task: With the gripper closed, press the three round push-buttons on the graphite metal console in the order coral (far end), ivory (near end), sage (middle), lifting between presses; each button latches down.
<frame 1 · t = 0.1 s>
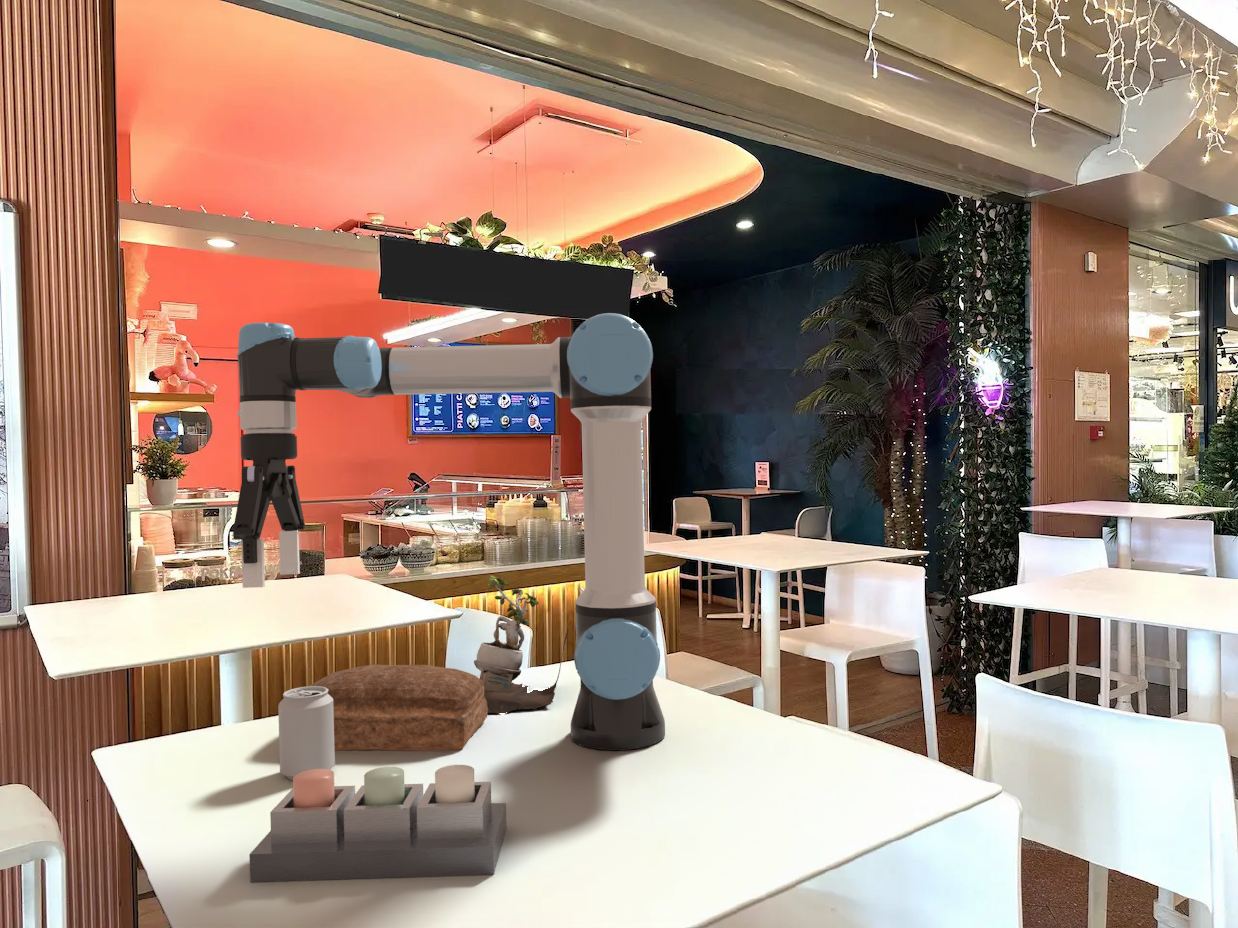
hand: (272, 580, 126), 28 cm above the table, fingers open, 13 cm apart
potted plant: (509, 700, 164), on the table
button sage: (384, 793, 100), point 7 cm above the table, slide at 0.0 cm
console: (386, 852, 100), on the table
button ivory: (455, 790, 100), point 7 cm above the table, slide at 0.0 cm
bread: (392, 737, 144), on the table
can: (308, 774, 127), on the table
button coral: (314, 795, 100), point 7 cm above the table, slide at 0.0 cm
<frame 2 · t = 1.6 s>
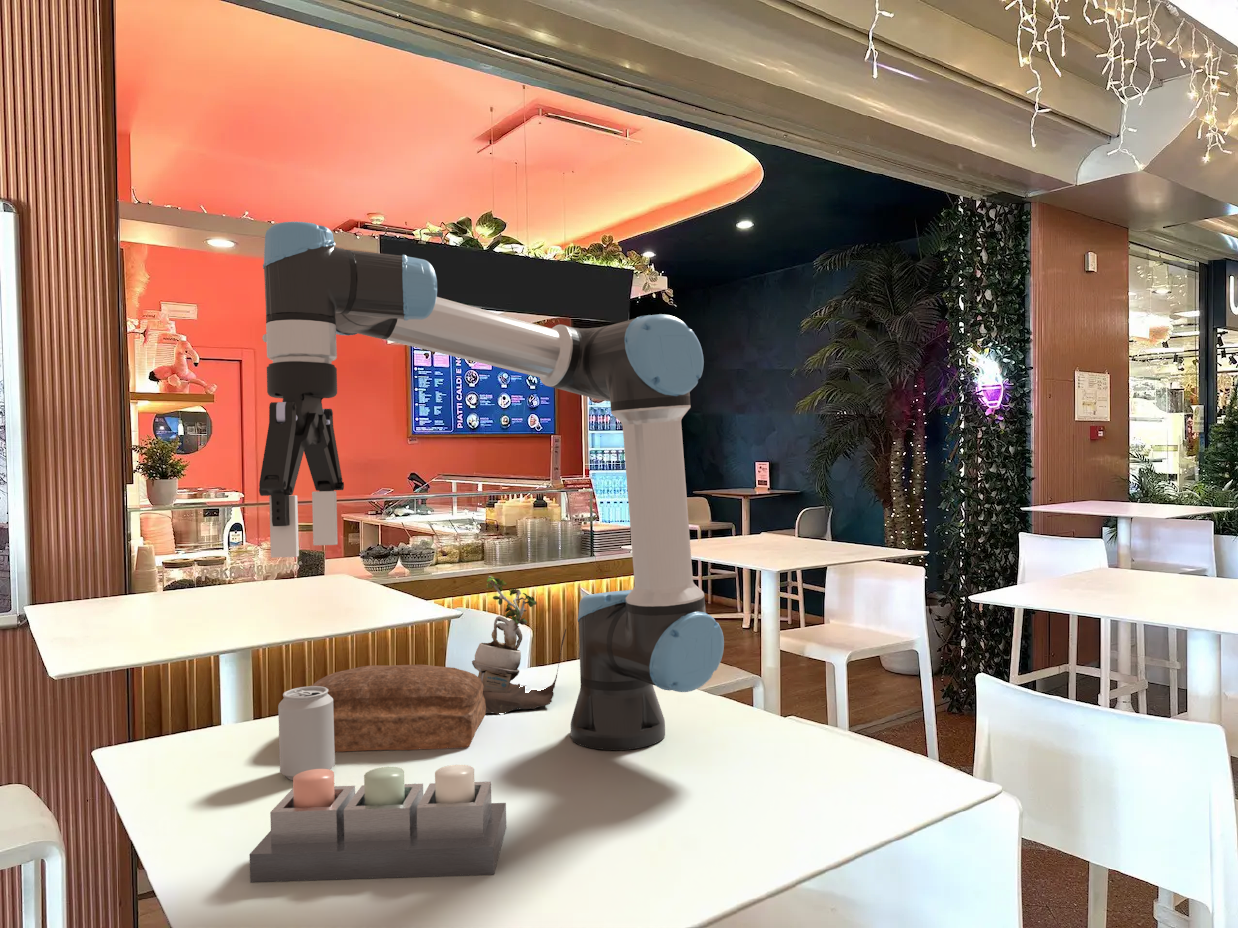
hand: (306, 550, 100), 35 cm above the table, fingers open, 12 cm apart
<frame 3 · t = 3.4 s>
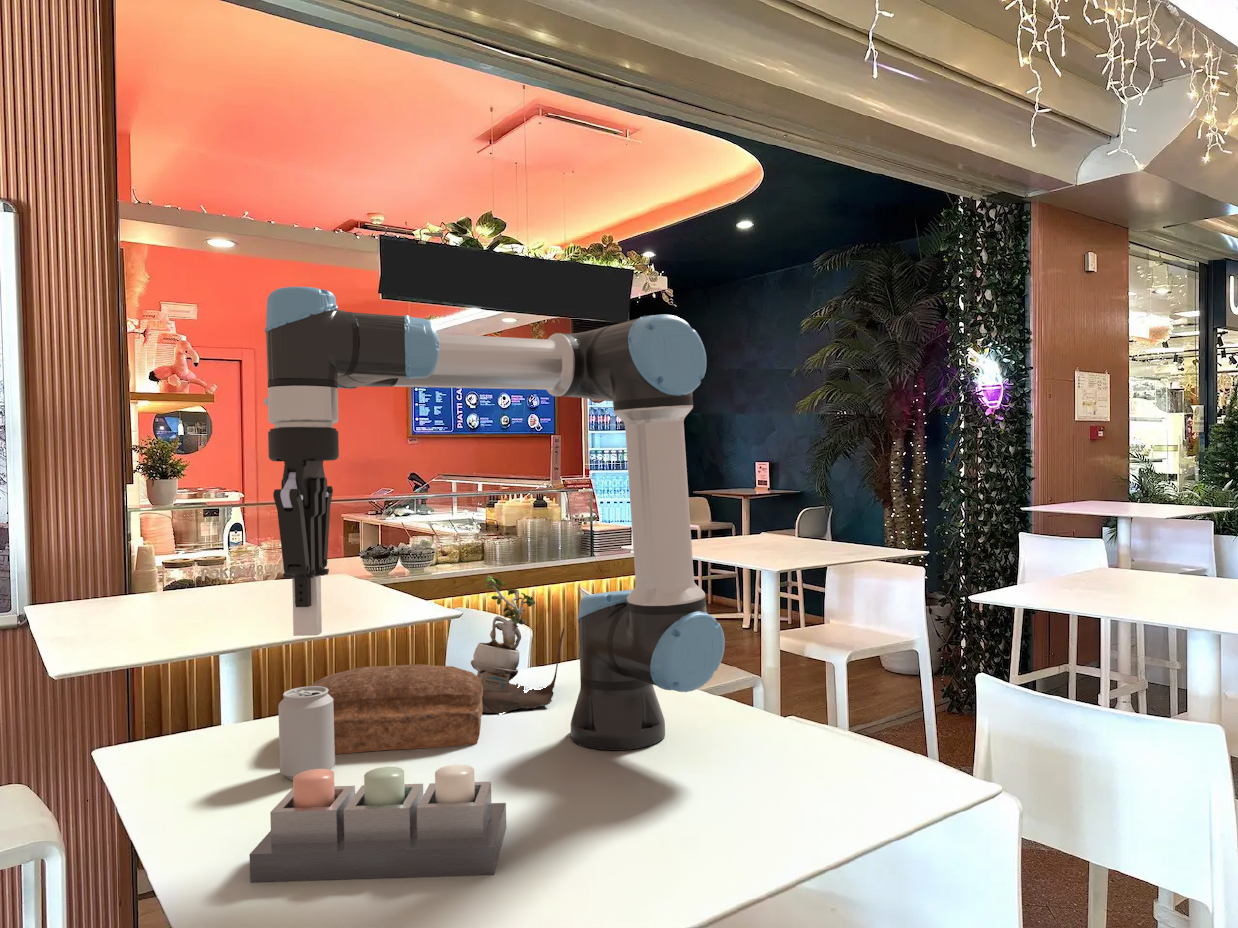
hand: (307, 634, 99), 25 cm above the table, fingers closed
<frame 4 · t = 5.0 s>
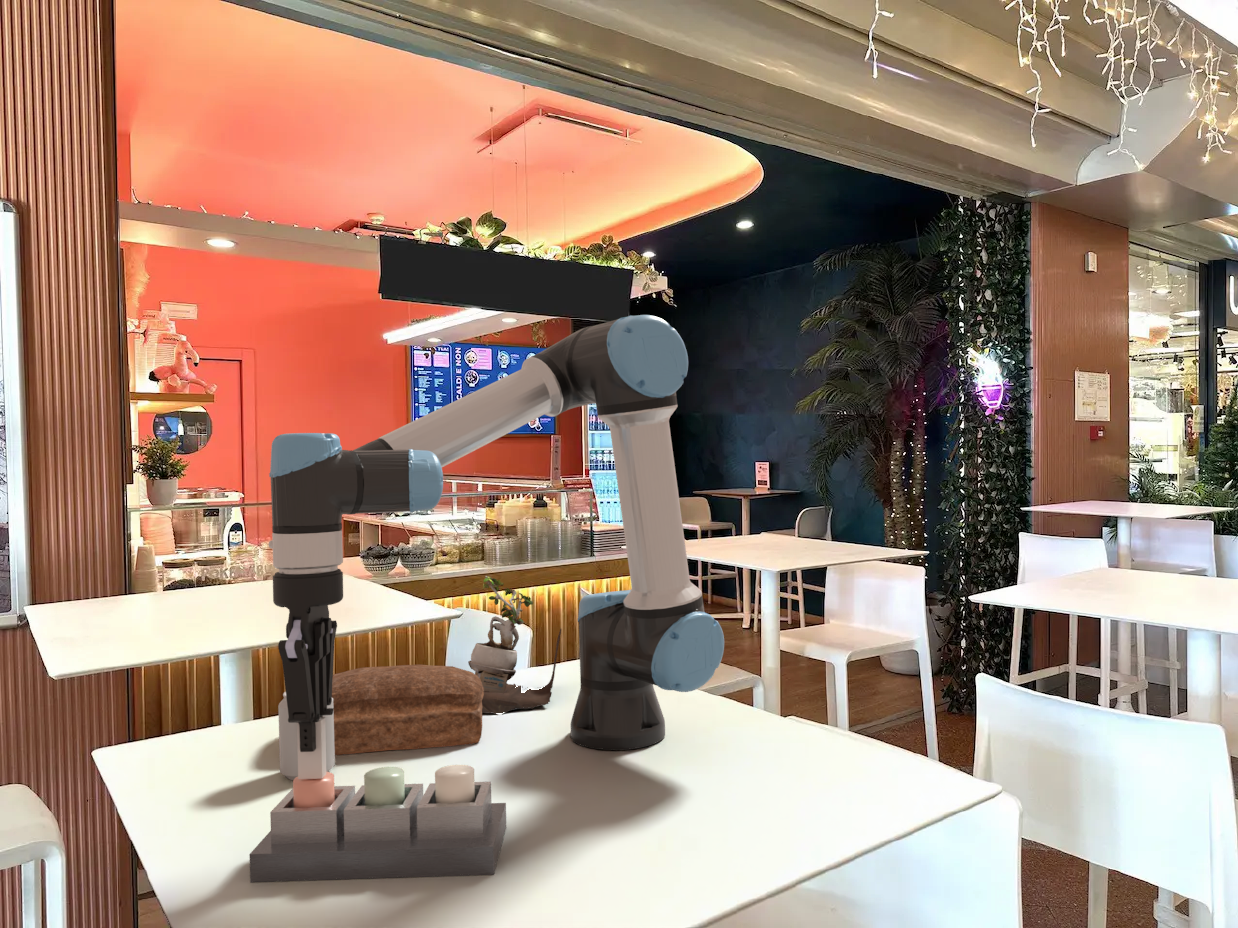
hand: (312, 776, 100), 9 cm above the table, fingers closed
button coral: (314, 797, 100), point 7 cm above the table, slide at -0.3 cm, touching gripper
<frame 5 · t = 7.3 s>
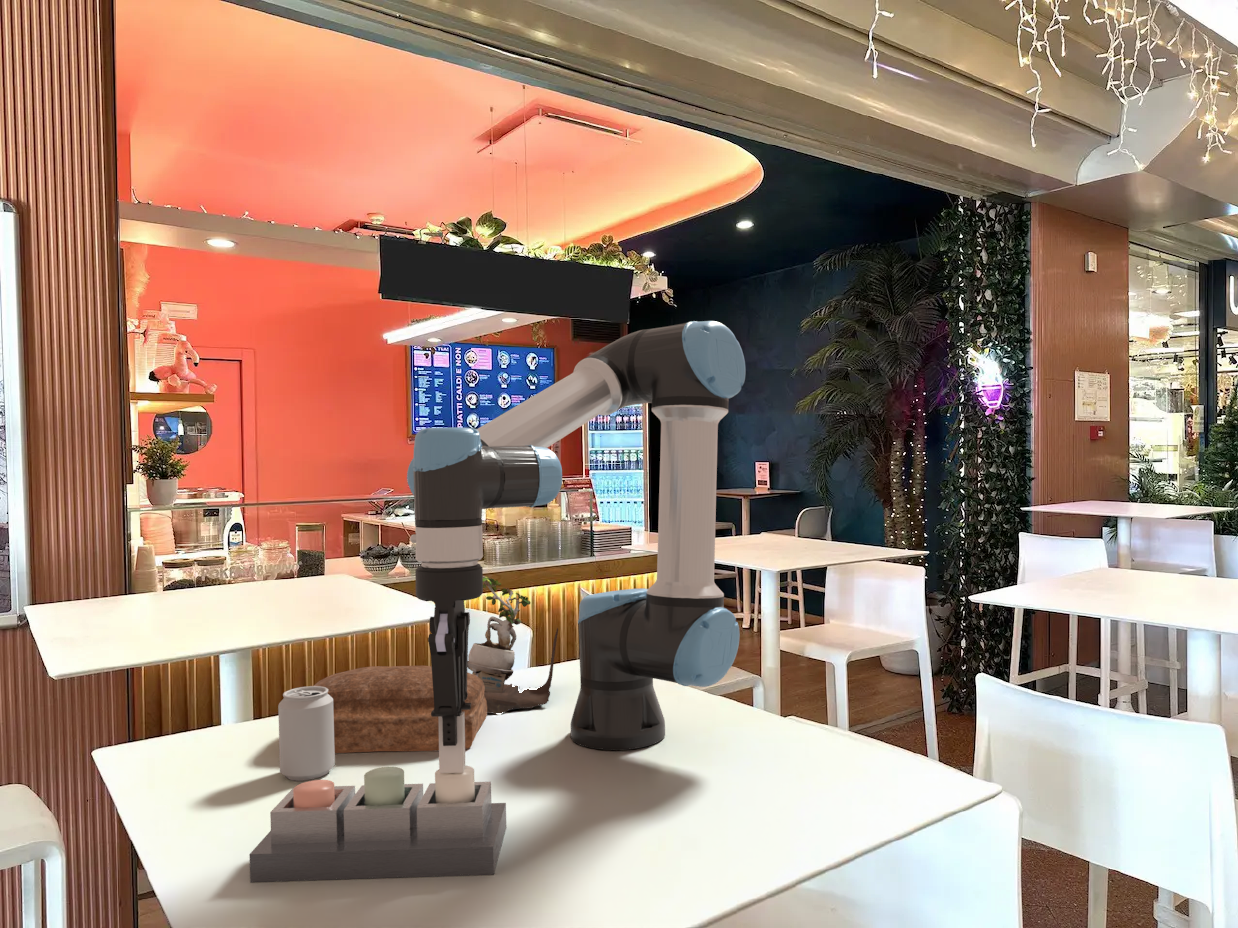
hand: (452, 770, 100), 9 cm above the table, fingers closed
button ivory: (455, 791, 100), point 7 cm above the table, slide at -0.1 cm, touching gripper
button coral: (314, 806, 100), point 6 cm above the table, slide at -1.3 cm
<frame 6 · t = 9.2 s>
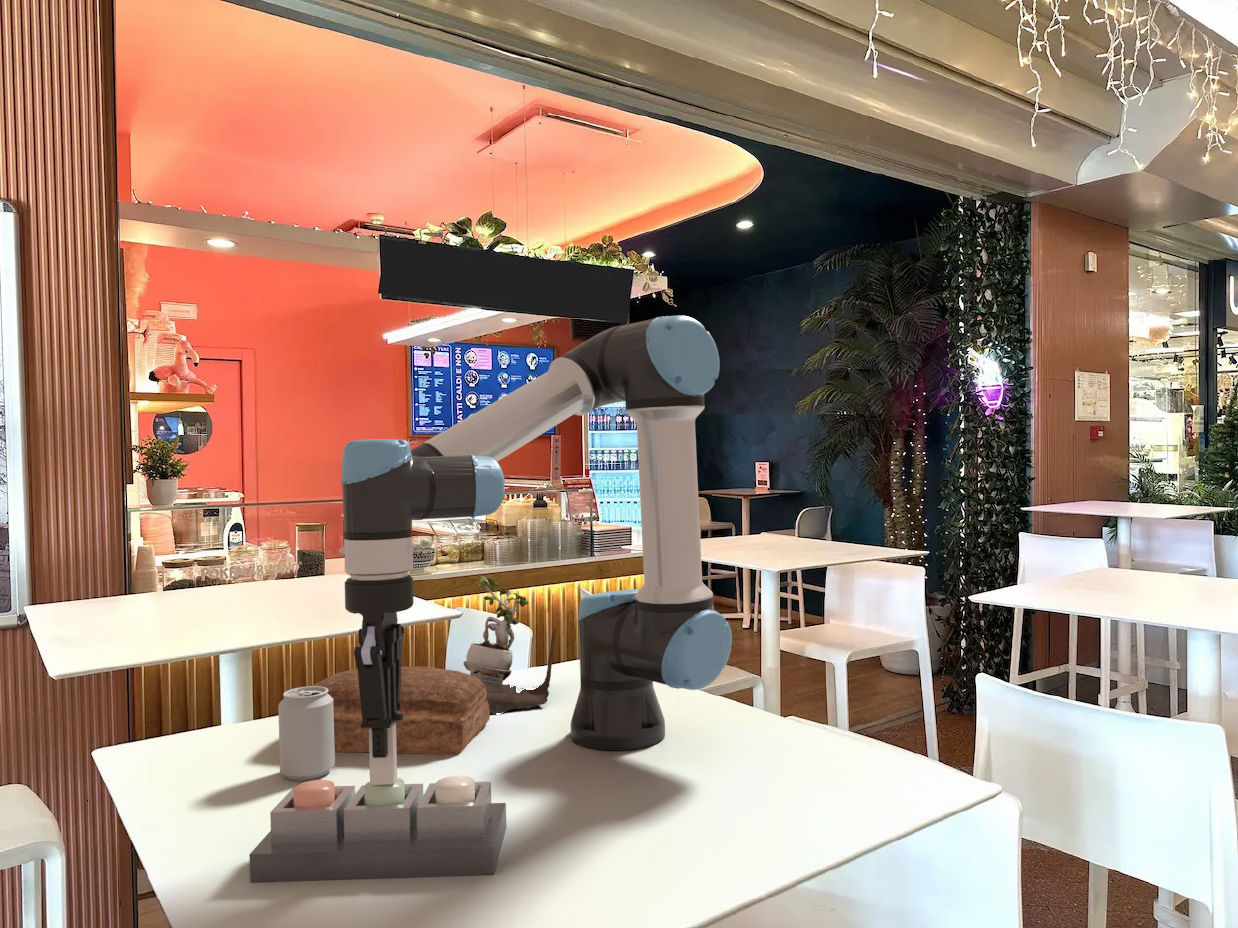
hand: (383, 781, 100), 8 cm above the table, fingers closed
button sage: (385, 803, 100), point 6 cm above the table, slide at -1.2 cm, touching gripper
button ivory: (455, 802, 100), point 6 cm above the table, slide at -1.3 cm
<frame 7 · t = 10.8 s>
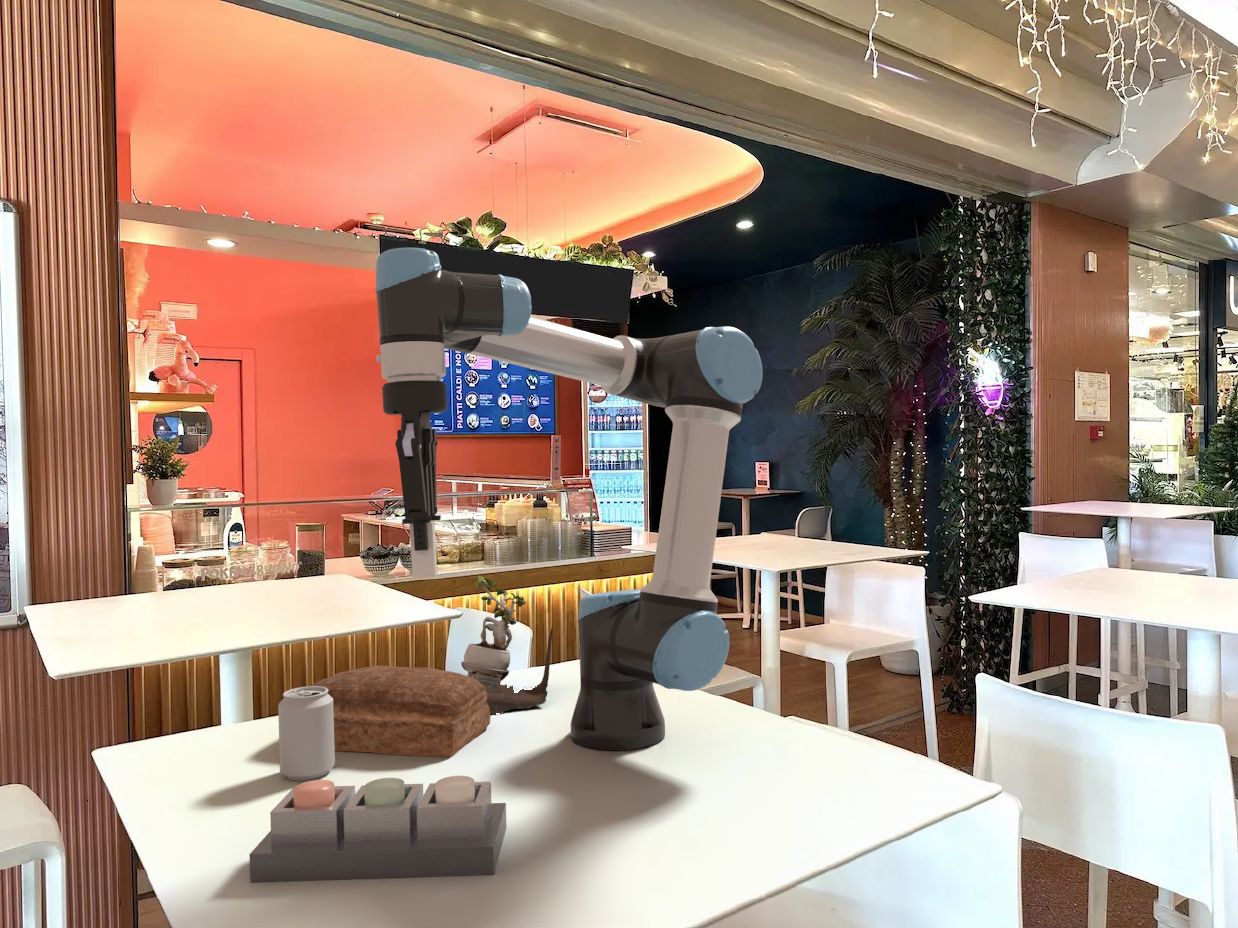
hand: (425, 576, 106), 31 cm above the table, fingers closed
button sage: (385, 804, 100), point 6 cm above the table, slide at -1.3 cm
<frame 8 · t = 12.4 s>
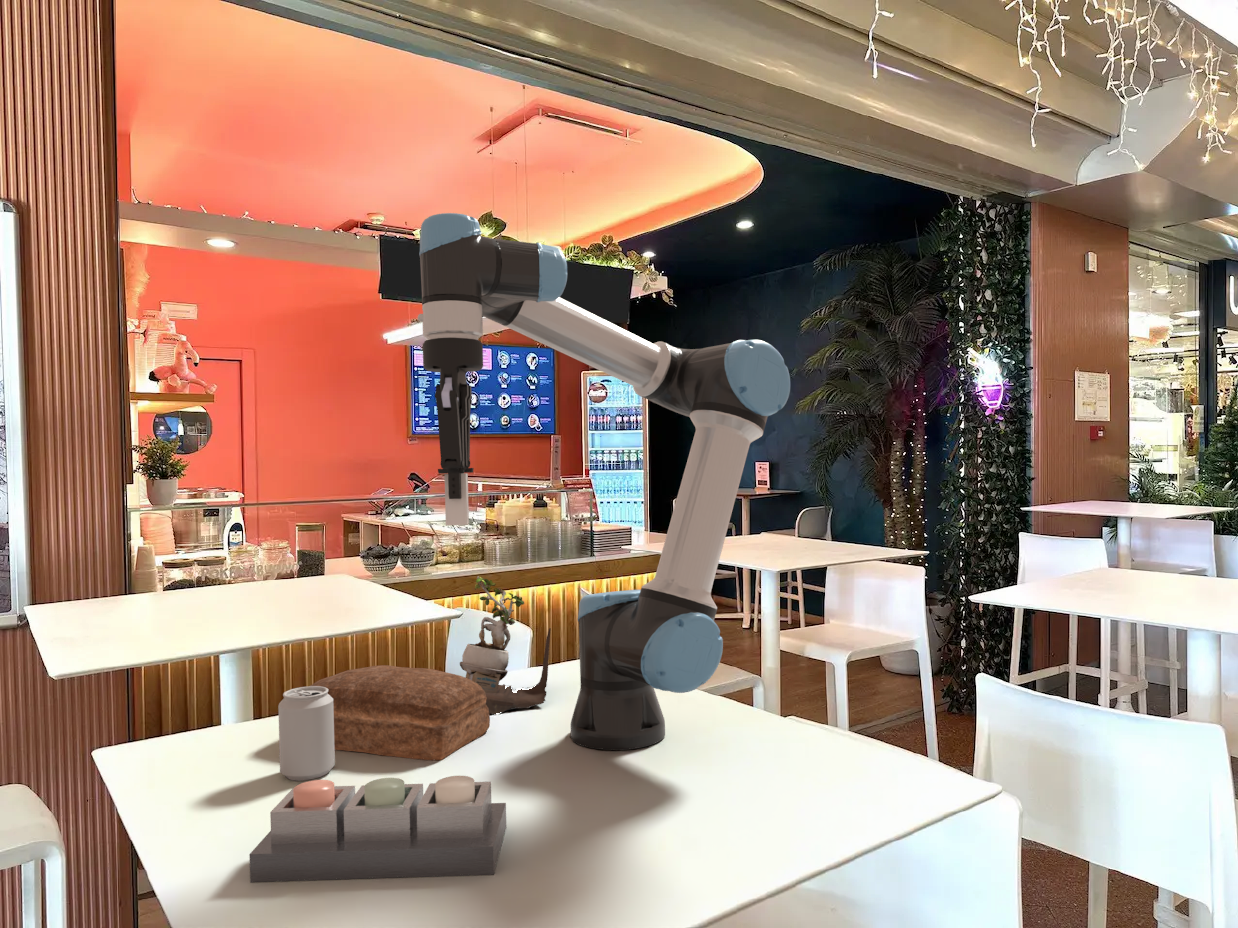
hand: (457, 524, 112), 36 cm above the table, fingers closed
at the end: button coral slide at -1.3 cm; button ivory slide at -1.3 cm; button sage slide at -1.3 cm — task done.
